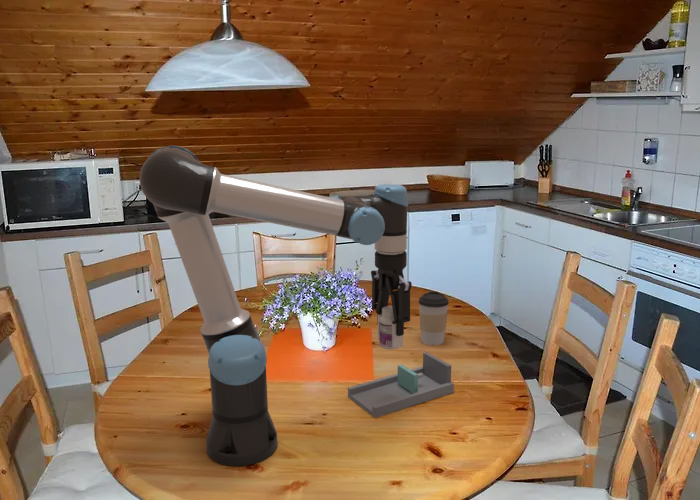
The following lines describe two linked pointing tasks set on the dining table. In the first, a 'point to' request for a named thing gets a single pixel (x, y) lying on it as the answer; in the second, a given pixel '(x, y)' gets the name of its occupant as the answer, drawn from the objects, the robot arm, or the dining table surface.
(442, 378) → the lane
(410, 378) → the pusher
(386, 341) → the pill bottle
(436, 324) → the coffee cup
